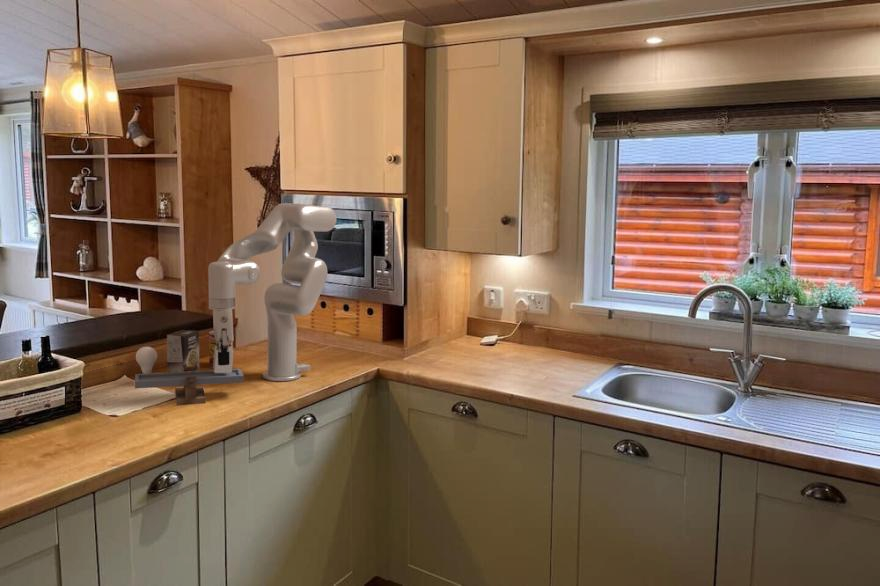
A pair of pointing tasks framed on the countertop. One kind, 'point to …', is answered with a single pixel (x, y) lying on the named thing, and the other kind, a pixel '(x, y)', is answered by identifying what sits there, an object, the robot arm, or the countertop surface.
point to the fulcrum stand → (190, 391)
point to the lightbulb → (146, 359)
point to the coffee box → (182, 350)
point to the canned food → (212, 347)
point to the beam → (179, 378)
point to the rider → (222, 368)
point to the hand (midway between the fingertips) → (222, 361)
